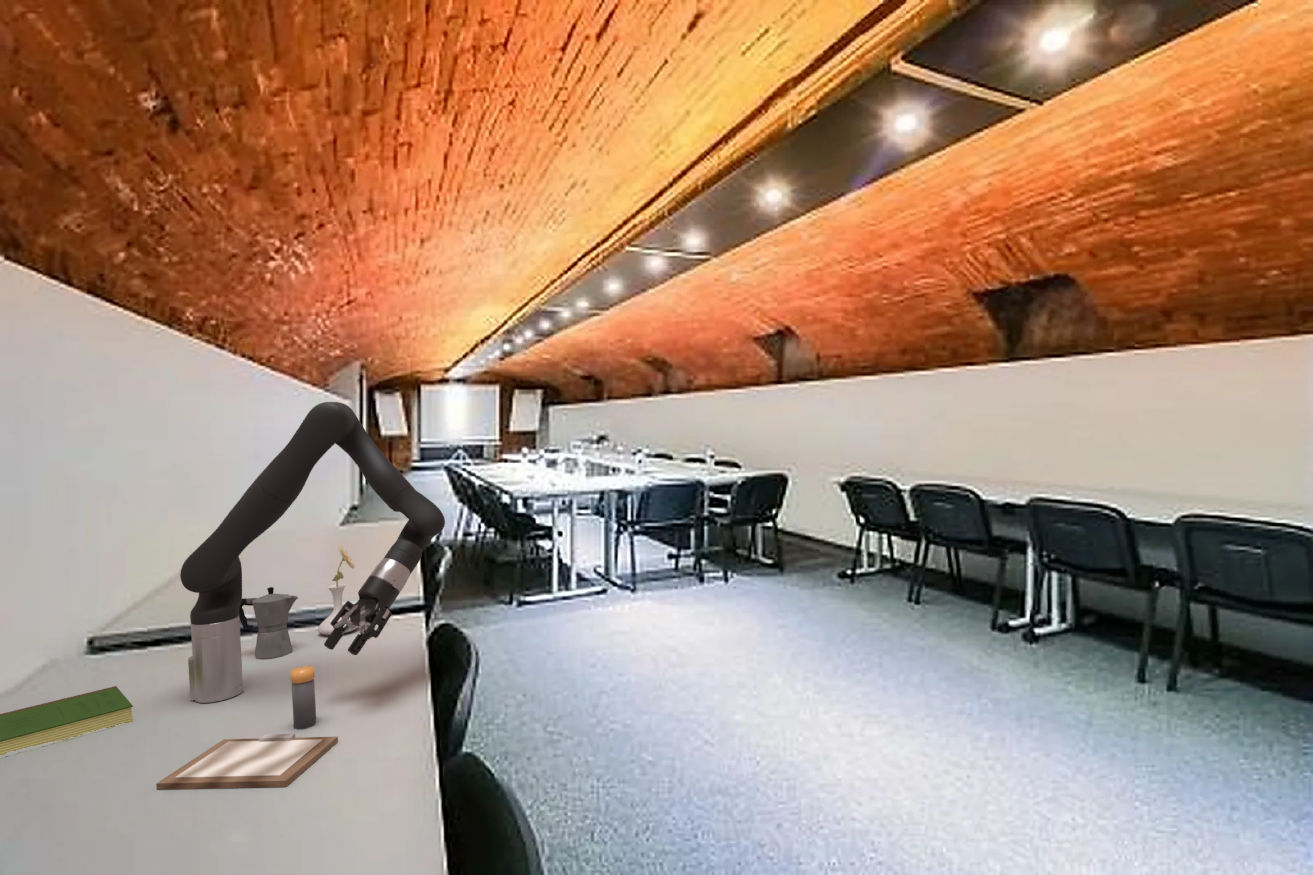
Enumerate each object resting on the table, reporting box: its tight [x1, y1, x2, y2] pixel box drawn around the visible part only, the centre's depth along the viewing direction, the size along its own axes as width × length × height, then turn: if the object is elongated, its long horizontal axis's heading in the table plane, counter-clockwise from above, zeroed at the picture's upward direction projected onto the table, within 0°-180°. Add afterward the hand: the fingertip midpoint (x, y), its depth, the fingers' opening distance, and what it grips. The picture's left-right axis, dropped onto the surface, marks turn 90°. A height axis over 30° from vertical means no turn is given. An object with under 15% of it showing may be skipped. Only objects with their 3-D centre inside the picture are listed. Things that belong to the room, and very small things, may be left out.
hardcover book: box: [0, 685, 134, 755], centre depth 138 cm, size 25×19×4 cm
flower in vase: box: [317, 546, 360, 636], centre depth 202 cm, size 13×11×25 cm
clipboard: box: [155, 733, 339, 791], centre depth 119 cm, size 22×16×2 cm
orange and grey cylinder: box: [289, 665, 317, 730], centre depth 135 cm, size 4×4×11 cm
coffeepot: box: [239, 586, 299, 660], centre depth 183 cm, size 15×9×18 cm, turn 103°
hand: (339, 650), depth 142 cm, fingers open, 8 cm apart
